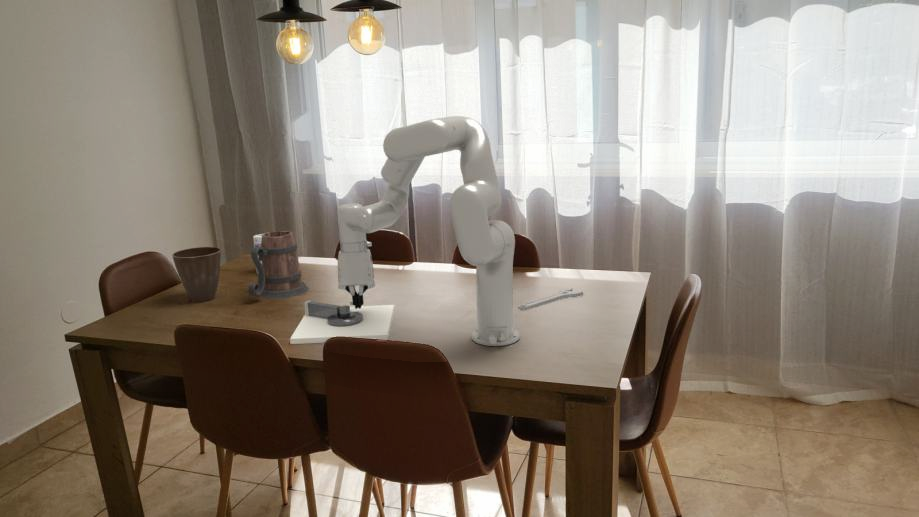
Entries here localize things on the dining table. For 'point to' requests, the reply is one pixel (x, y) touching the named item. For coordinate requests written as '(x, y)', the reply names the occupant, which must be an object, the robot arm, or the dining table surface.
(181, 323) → the dining table surface
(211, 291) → the plant pot
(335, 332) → the dial board
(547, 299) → the adjustable wrench
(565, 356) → the dining table surface
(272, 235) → the tankard
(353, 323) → the dial
